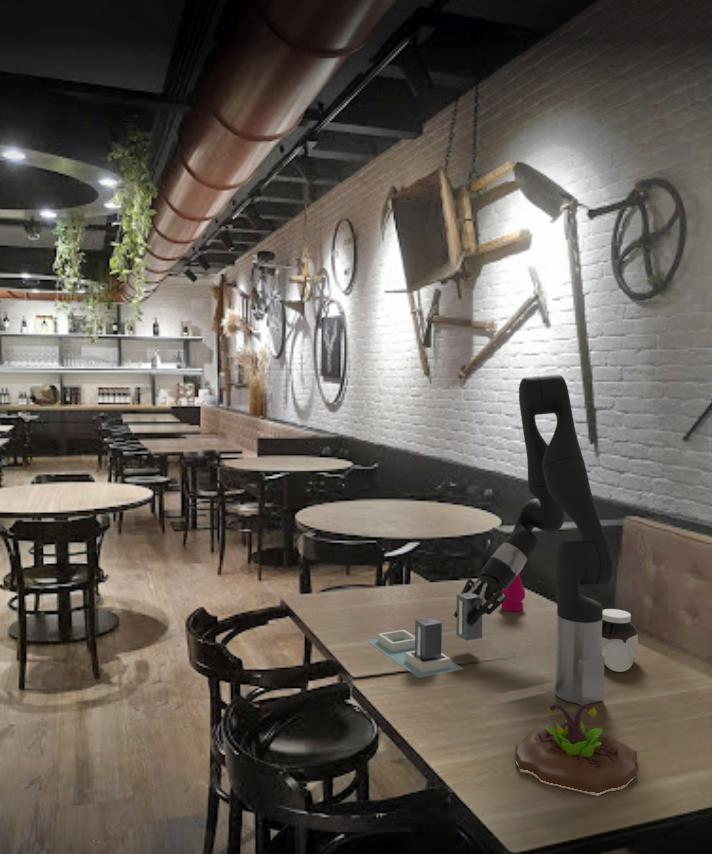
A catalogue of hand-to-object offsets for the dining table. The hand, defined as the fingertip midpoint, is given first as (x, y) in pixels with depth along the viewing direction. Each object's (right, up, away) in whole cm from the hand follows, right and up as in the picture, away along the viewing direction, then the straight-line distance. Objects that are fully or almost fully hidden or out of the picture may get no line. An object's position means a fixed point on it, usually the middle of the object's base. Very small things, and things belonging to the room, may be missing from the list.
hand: (462, 620), depth 181 cm
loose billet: (+2, -4, +1) cm, 5 cm away
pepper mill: (+20, -7, +41) cm, 46 cm away
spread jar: (+36, -10, -1) cm, 38 cm away
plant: (+13, -13, -48) cm, 52 cm away
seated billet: (-9, -8, -7) cm, 14 cm away
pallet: (-12, -9, 0) cm, 15 cm away
